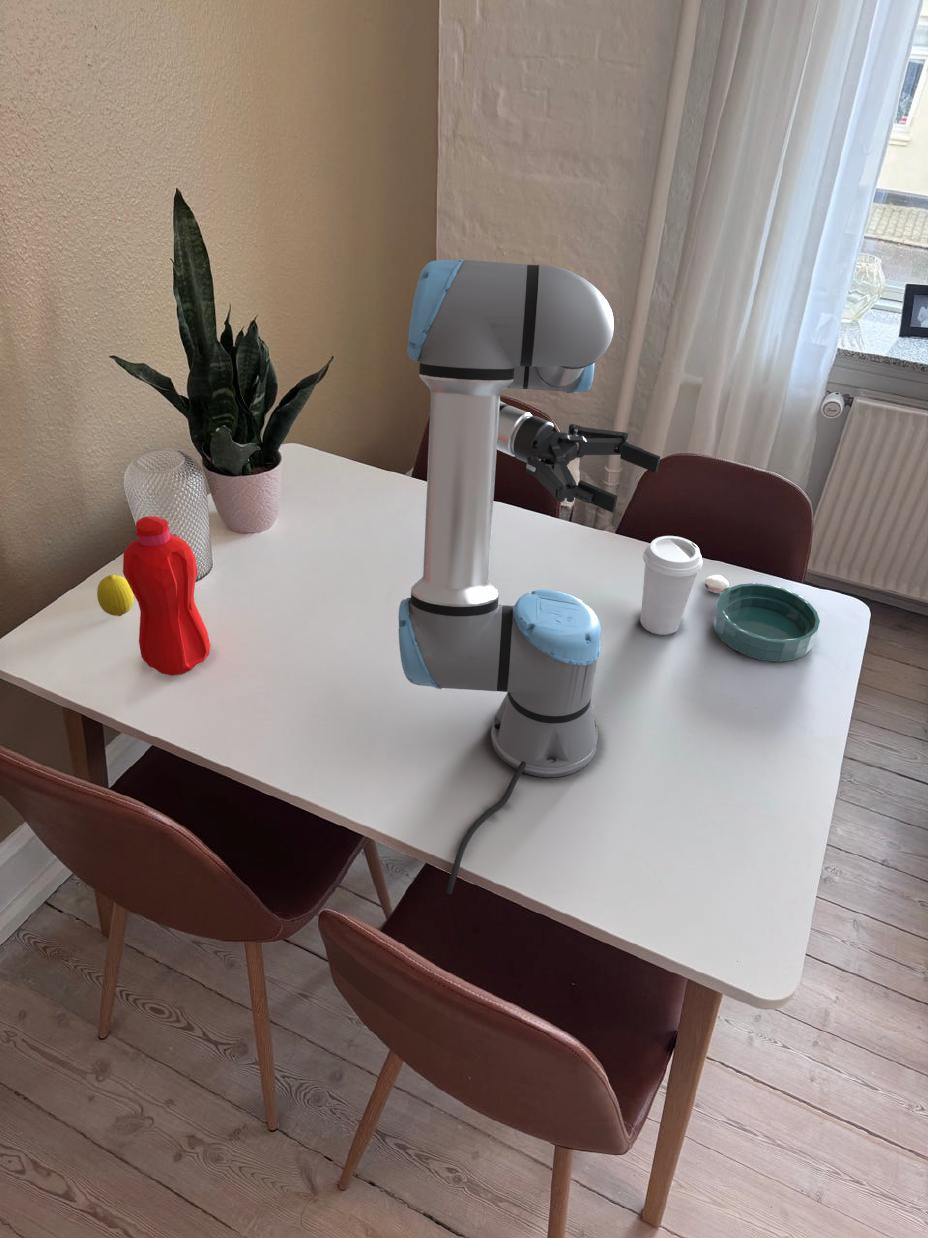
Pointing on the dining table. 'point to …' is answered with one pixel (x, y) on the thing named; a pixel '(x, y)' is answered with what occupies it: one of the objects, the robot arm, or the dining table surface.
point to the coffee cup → (668, 582)
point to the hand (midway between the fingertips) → (637, 484)
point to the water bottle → (165, 598)
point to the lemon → (115, 595)
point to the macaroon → (716, 584)
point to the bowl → (766, 622)
